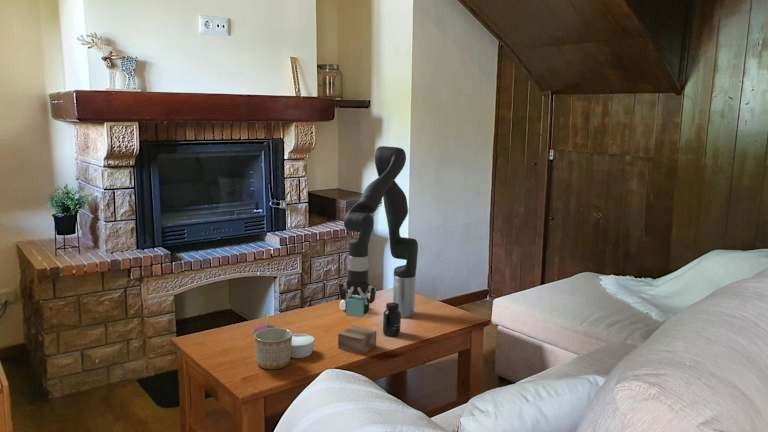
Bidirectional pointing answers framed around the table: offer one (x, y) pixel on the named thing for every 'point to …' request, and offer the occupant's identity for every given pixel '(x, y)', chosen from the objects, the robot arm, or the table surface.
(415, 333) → the table surface
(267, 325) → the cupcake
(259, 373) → the table surface
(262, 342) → the planter
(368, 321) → the table surface
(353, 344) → the walnut block
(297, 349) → the ramekin
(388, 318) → the supplement bottle
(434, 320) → the table surface
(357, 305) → the teal cube
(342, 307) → the duck figurine
